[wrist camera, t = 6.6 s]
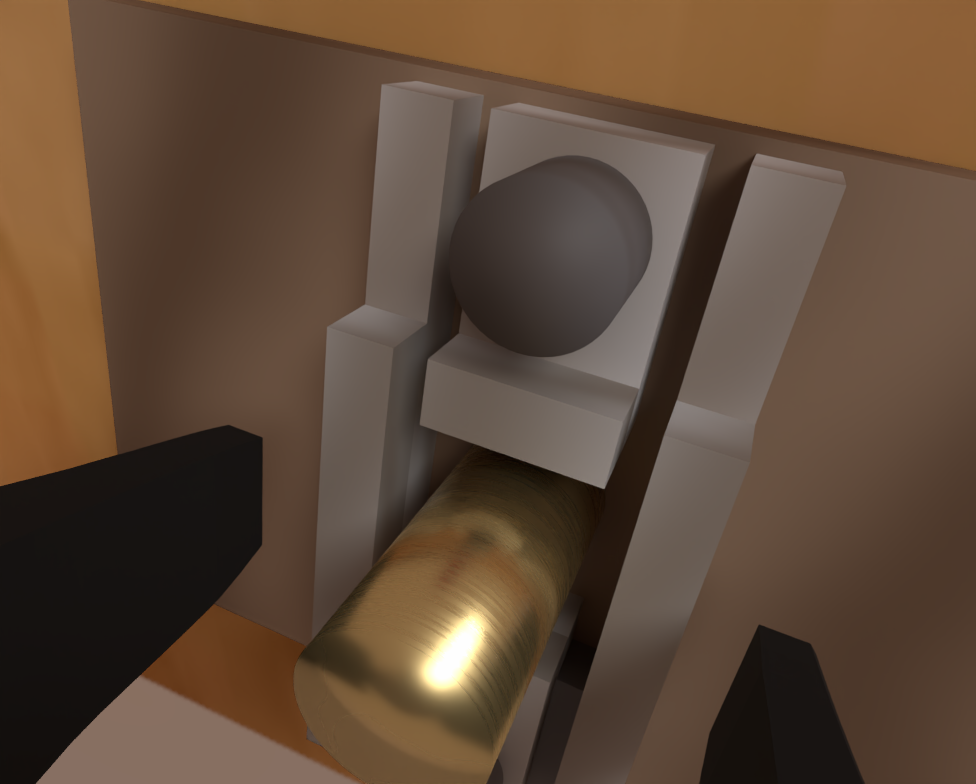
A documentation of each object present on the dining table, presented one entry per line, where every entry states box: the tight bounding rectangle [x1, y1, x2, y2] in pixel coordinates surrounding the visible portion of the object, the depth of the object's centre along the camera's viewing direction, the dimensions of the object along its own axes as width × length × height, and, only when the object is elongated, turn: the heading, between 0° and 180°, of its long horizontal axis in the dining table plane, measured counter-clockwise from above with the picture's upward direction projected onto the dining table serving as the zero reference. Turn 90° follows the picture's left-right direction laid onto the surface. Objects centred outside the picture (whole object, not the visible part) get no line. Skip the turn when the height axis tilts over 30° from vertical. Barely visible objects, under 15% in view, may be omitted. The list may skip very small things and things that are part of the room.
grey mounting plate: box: [68, 0, 976, 784], centre depth 11 cm, size 18×12×4 cm, turn 81°
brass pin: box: [293, 444, 606, 784], centre depth 10 cm, size 2×2×5 cm
